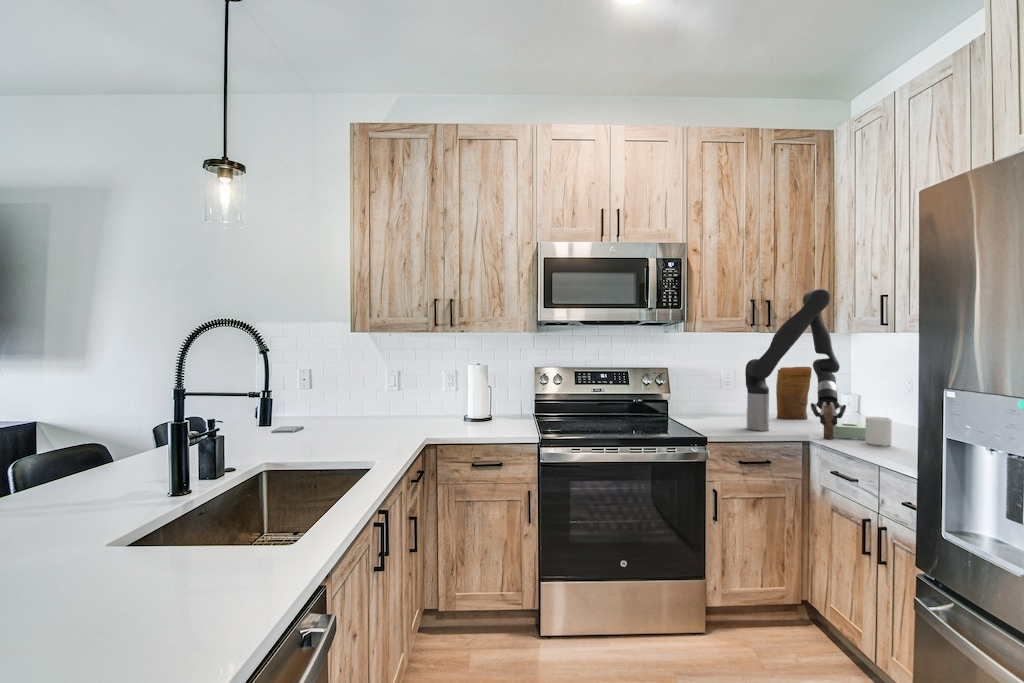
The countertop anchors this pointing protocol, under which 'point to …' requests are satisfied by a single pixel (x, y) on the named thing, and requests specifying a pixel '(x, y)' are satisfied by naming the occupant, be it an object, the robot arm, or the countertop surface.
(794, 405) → the pancake mix bag
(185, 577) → the countertop surface
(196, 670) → the countertop surface
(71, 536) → the countertop surface
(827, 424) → the dowel
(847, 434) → the socket block
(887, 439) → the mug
